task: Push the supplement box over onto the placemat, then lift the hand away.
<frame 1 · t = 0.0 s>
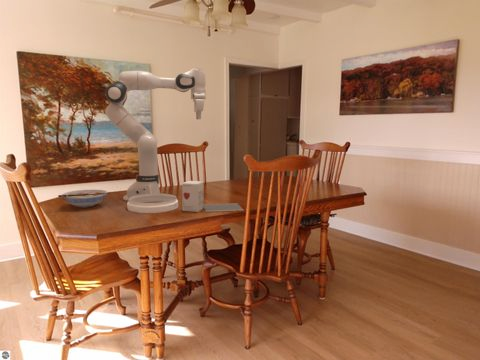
hand: (198, 119, 217), 48 cm above the table, fingers open, 8 cm apart
ramen bowl: (86, 206, 194), on the table
placemat: (222, 208, 193), on the table
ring: (153, 208, 194), on the table
supplement box: (193, 210, 189), on the table
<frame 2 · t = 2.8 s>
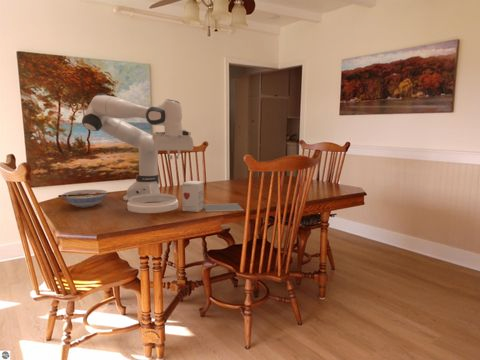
hand: (173, 159, 183), 27 cm above the table, fingers closed
nothing on the table moved.
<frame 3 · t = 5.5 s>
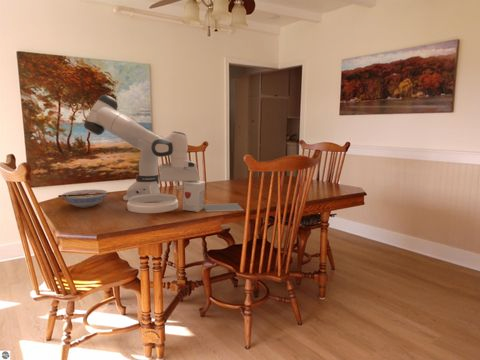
hand: (179, 189, 185), 11 cm above the table, fingers closed
supplement box: (193, 209, 189), on the table, touching gripper
everything else where it was.
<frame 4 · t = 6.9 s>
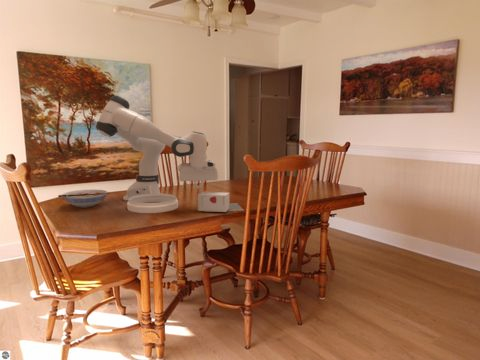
hand: (198, 189, 187), 11 cm above the table, fingers closed
supplement box: (199, 201, 187), point 5 cm above the table, touching placemat
everything else where it was.
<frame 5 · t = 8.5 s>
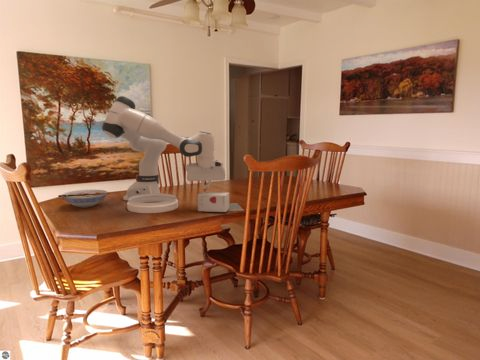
hand: (206, 188, 188), 11 cm above the table, fingers closed
nothing on the table moved.
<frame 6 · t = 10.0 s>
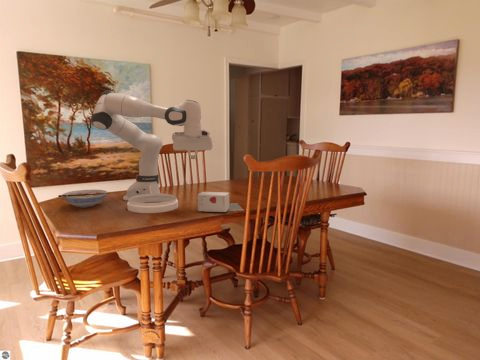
hand: (192, 159, 185), 27 cm above the table, fingers closed
nothing on the table moved.
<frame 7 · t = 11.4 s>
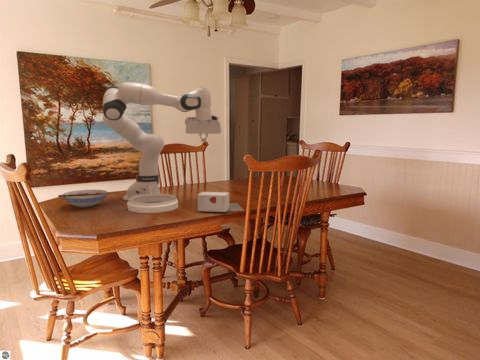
hand: (203, 141, 204), 35 cm above the table, fingers closed
nothing on the table moved.
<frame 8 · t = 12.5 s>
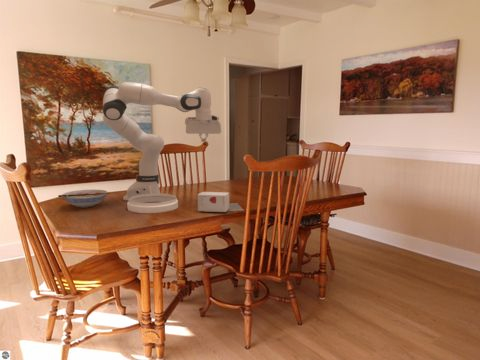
hand: (203, 141, 204), 35 cm above the table, fingers closed
nothing on the table moved.
at the end: supplement box tilted 89°; supplement box inside the target area (11.9 cm from its centre), point 4.8 cm above the table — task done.
